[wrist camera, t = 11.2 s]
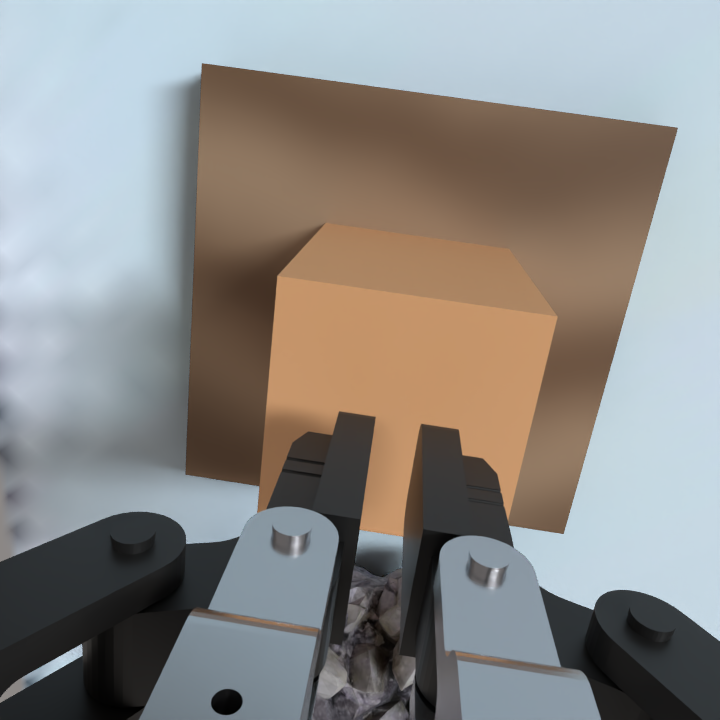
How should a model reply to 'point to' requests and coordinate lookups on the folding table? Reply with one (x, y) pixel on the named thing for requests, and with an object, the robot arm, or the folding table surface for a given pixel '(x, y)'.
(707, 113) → the folding table surface
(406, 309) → the tan wooden cube
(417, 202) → the post board
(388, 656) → the mineral specimen
